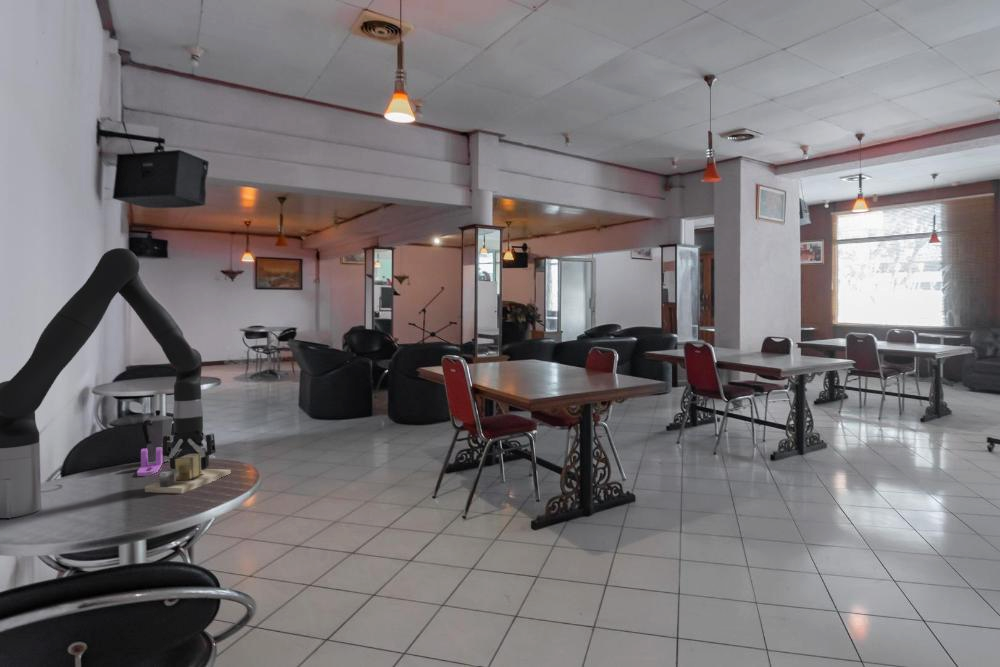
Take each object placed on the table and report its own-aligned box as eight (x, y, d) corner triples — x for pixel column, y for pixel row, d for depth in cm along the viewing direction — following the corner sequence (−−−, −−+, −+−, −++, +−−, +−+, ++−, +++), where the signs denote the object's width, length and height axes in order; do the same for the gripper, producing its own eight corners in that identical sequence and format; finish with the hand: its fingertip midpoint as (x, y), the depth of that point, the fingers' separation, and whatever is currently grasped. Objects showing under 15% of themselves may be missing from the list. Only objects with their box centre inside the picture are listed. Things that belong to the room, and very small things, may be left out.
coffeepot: (155, 457, 198) (154, 407, 197) (182, 456, 198) (181, 407, 198) (129, 468, 182) (128, 414, 182) (159, 467, 183) (157, 413, 183)
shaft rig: (181, 493, 151) (181, 473, 151) (144, 492, 154) (144, 472, 154) (230, 474, 171) (230, 456, 171) (197, 473, 173) (196, 456, 173)
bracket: (143, 468, 182) (142, 447, 182) (162, 466, 184) (162, 446, 184) (135, 478, 170) (134, 455, 170) (156, 475, 172) (155, 453, 172)
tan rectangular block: (189, 479, 159) (189, 458, 159) (175, 480, 159) (175, 459, 159) (202, 473, 166) (202, 453, 166) (189, 473, 166) (188, 453, 166)
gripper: (156, 417, 158) (157, 473, 158) (206, 416, 159) (207, 472, 159) (171, 413, 166) (172, 467, 166) (218, 412, 166) (220, 465, 166)
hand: (189, 469), depth 162 cm, fingers open, 8 cm apart
